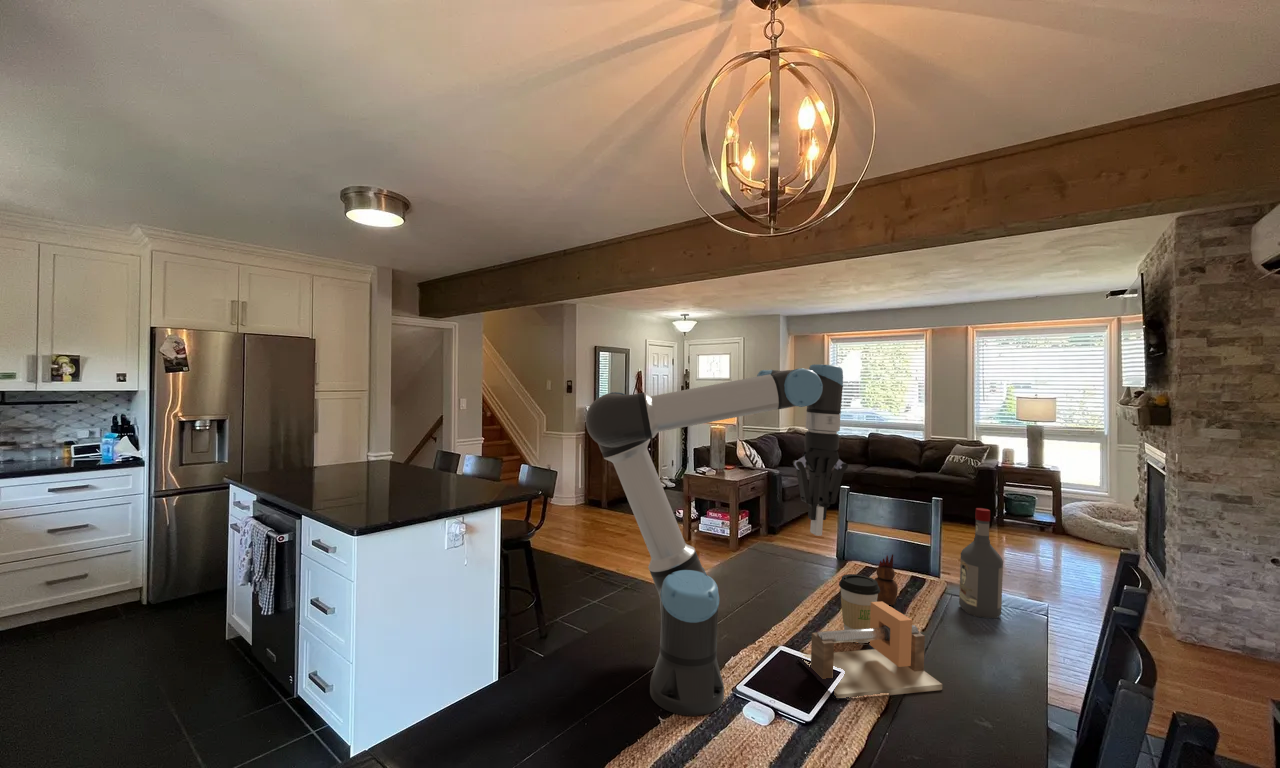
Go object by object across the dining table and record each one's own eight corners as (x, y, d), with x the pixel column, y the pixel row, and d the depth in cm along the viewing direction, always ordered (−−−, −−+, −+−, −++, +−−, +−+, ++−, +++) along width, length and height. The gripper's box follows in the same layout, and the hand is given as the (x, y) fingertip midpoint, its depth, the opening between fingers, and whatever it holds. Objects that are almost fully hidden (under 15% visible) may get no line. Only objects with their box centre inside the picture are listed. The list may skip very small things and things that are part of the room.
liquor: (989, 607, 161) (992, 507, 161) (1004, 620, 152) (1007, 514, 152) (956, 603, 162) (959, 505, 162) (969, 616, 153) (972, 511, 153)
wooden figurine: (898, 603, 161) (899, 553, 161) (895, 609, 156) (897, 558, 156) (873, 598, 165) (875, 549, 165) (870, 604, 160) (872, 553, 160)
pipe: (823, 648, 116) (824, 634, 116) (815, 641, 119) (816, 627, 119) (919, 641, 121) (920, 627, 121) (909, 634, 124) (910, 620, 124)
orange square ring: (898, 666, 116) (900, 620, 116) (869, 644, 126) (870, 602, 126) (910, 665, 116) (912, 619, 116) (880, 643, 126) (882, 601, 126)
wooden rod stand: (837, 700, 109) (838, 656, 109) (798, 660, 125) (799, 622, 125) (942, 689, 115) (943, 647, 115) (892, 652, 130) (893, 615, 130)
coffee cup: (882, 650, 132) (884, 589, 132) (840, 644, 133) (842, 584, 134) (873, 632, 141) (875, 575, 141) (834, 627, 143) (836, 571, 143)
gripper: (804, 432, 118) (797, 538, 118) (857, 434, 121) (850, 538, 121) (788, 428, 126) (782, 529, 126) (839, 431, 128) (832, 529, 128)
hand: (816, 533), depth 123 cm, fingers closed
